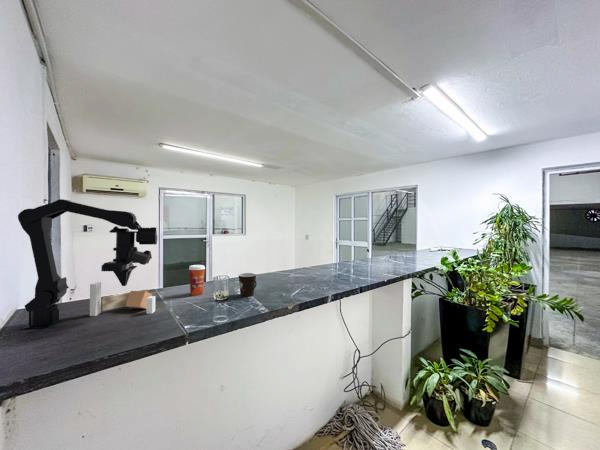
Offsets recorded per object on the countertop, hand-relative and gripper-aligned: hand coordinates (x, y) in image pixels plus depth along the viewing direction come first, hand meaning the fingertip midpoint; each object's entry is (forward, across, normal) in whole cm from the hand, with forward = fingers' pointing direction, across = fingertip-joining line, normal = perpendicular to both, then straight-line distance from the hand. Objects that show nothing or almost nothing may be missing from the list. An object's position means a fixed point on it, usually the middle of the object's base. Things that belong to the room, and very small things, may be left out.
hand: (124, 285), depth 92 cm
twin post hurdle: (+11, +2, +2) cm, 12 cm away
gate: (+10, +8, +3) cm, 13 cm away
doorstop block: (+10, +5, -2) cm, 12 cm away
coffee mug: (+11, +20, -46) cm, 51 cm away
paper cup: (+11, +26, -21) cm, 35 cm away
